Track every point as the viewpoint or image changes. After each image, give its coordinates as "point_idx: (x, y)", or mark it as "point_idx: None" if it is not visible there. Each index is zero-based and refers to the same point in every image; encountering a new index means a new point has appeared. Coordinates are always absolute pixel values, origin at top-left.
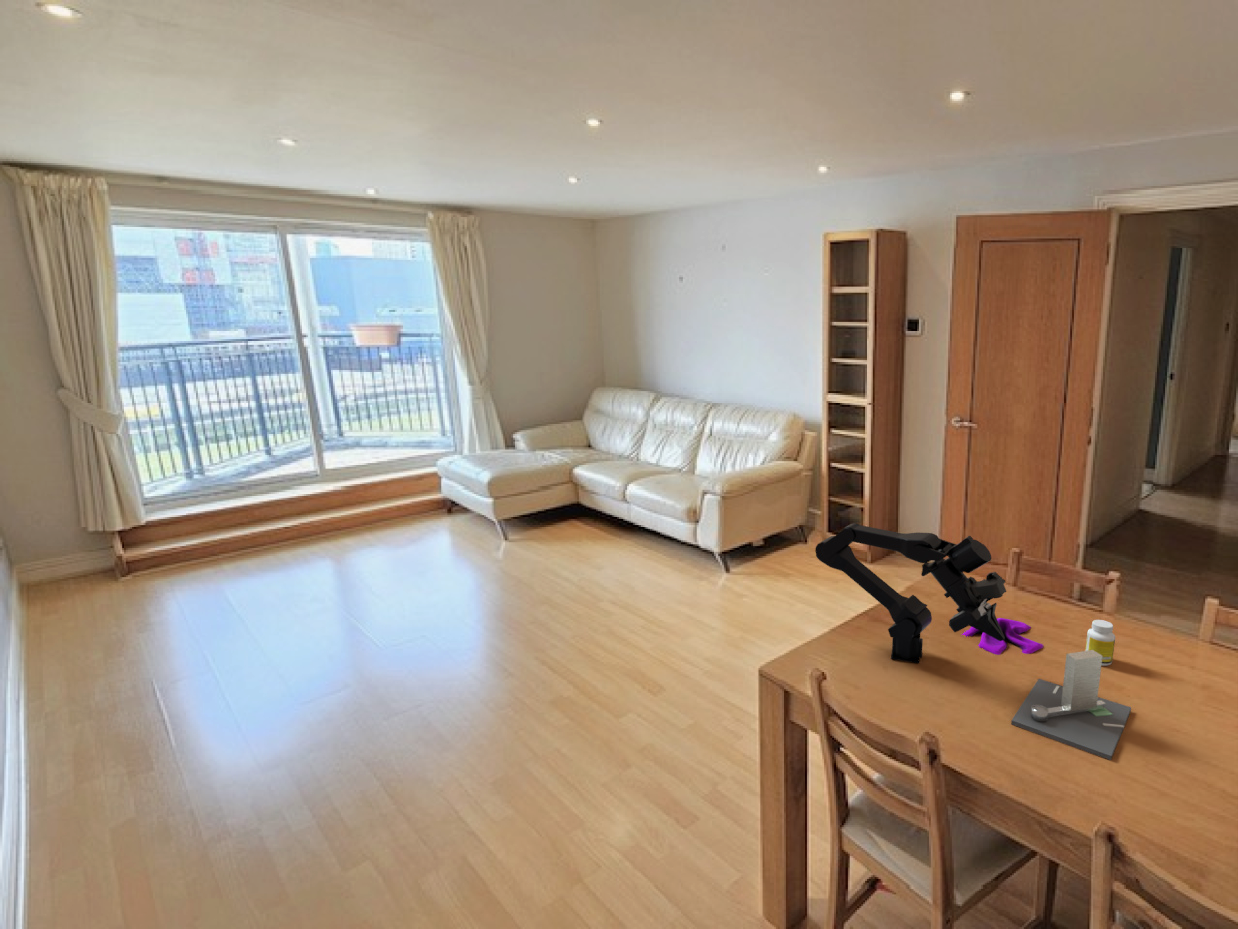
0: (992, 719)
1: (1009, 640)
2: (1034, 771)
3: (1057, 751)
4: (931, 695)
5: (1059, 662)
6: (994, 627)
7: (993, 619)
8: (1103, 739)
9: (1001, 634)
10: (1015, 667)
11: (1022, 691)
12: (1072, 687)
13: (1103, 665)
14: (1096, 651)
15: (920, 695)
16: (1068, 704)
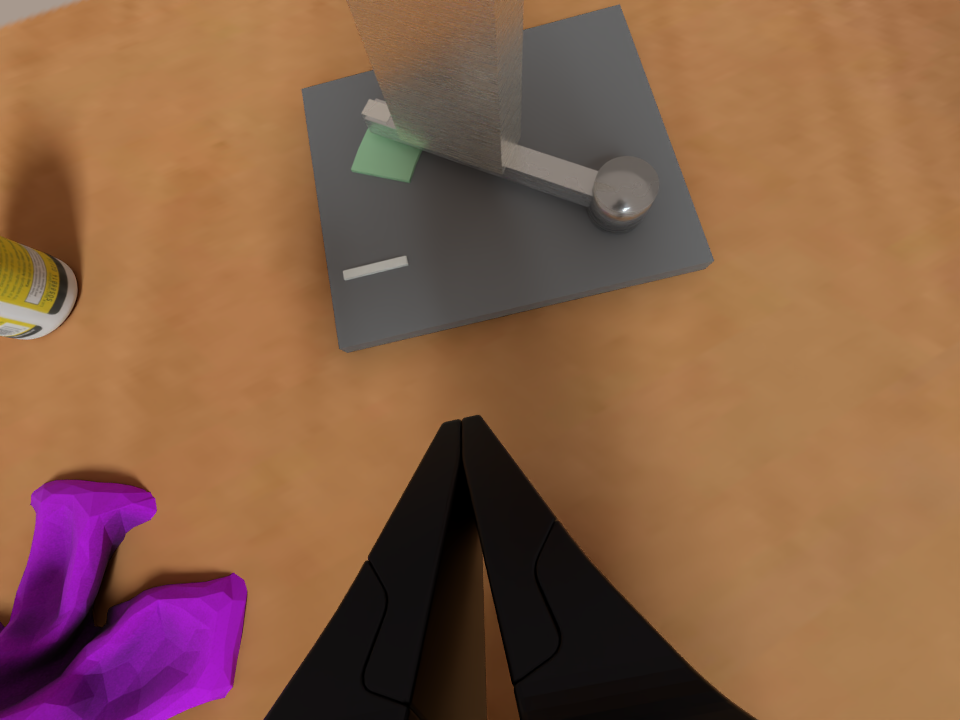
0: (736, 326)
1: (90, 606)
2: (877, 99)
3: (709, 114)
4: (820, 594)
5: (141, 377)
6: (557, 521)
7: (422, 654)
8: (553, 50)
9: (472, 444)
10: (296, 469)
11: (455, 357)
12: (521, 30)
13: (69, 268)
14: (7, 266)
15: (871, 633)
16: (516, 127)
